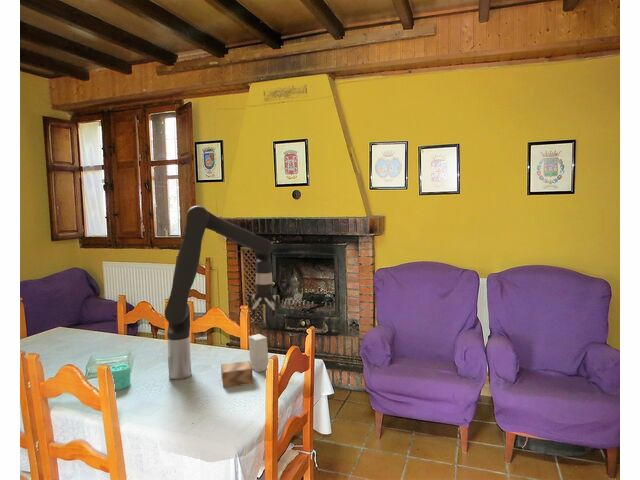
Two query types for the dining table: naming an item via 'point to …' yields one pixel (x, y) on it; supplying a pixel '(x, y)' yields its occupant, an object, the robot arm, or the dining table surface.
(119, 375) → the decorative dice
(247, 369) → the walnut block
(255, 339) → the skincare box
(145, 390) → the dining table surface
